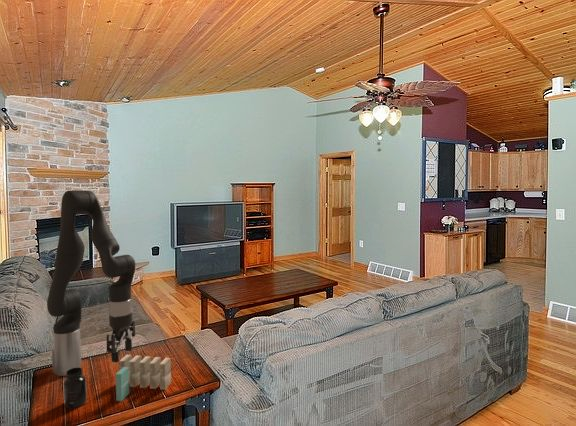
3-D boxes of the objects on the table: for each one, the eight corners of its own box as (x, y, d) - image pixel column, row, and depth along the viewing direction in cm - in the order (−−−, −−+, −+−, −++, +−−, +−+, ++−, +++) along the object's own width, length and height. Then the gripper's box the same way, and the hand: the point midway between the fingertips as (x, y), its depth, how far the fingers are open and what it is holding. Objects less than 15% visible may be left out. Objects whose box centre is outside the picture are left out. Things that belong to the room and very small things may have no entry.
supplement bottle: (70, 398, 134) (69, 365, 133) (90, 397, 134) (89, 365, 133) (60, 409, 127) (59, 376, 126) (81, 409, 128) (80, 375, 127)
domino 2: (116, 400, 133) (115, 373, 132) (124, 392, 138) (123, 366, 137) (121, 401, 132) (121, 374, 132) (129, 393, 137) (128, 367, 136)
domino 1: (120, 386, 142) (119, 360, 141) (127, 379, 147) (126, 354, 146) (125, 386, 142) (124, 361, 141) (132, 379, 147) (131, 355, 146)
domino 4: (140, 387, 141) (139, 362, 140) (146, 380, 146) (146, 356, 145) (145, 388, 141) (144, 362, 140) (151, 381, 146) (151, 356, 145)
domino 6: (160, 389, 140) (159, 363, 139) (166, 382, 145) (165, 357, 144) (165, 390, 140) (164, 364, 139) (171, 382, 145) (170, 358, 144)
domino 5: (150, 388, 141) (149, 363, 140) (156, 381, 146) (155, 356, 145) (155, 389, 140) (154, 363, 139) (161, 381, 145) (160, 357, 144)
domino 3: (130, 386, 142) (129, 361, 141) (136, 379, 147) (136, 355, 146) (135, 387, 141) (134, 361, 140) (141, 380, 146) (141, 355, 145)
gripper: (122, 304, 140) (123, 346, 141) (98, 318, 126) (100, 364, 127) (141, 305, 139) (142, 347, 140) (119, 319, 125) (120, 366, 126)
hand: (122, 355), depth 134 cm, fingers open, 8 cm apart
